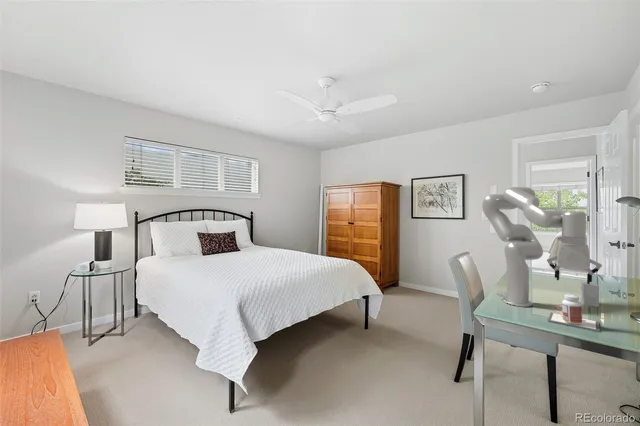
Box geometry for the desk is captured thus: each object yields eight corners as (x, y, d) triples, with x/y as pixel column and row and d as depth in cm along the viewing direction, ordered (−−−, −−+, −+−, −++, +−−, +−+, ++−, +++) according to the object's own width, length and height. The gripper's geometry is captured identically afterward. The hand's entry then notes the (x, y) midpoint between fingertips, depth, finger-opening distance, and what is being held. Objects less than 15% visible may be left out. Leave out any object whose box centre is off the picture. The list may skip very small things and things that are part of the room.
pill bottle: (584, 322, 121) (583, 296, 121) (579, 326, 118) (578, 298, 117) (565, 318, 126) (564, 292, 126) (560, 321, 123) (559, 295, 123)
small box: (598, 307, 143) (599, 286, 143) (583, 305, 146) (583, 284, 145) (594, 302, 149) (594, 282, 149) (580, 301, 152) (580, 281, 152)
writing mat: (547, 321, 125) (547, 319, 125) (550, 313, 134) (550, 311, 134) (599, 332, 114) (599, 330, 114) (598, 322, 123) (598, 320, 123)
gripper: (546, 240, 124) (545, 279, 125) (602, 243, 113) (601, 287, 113) (548, 238, 130) (547, 276, 130) (602, 241, 118) (601, 283, 118)
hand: (572, 281), depth 122 cm, fingers open, 9 cm apart
